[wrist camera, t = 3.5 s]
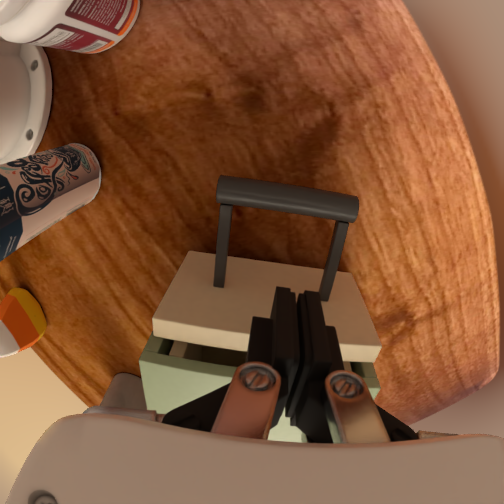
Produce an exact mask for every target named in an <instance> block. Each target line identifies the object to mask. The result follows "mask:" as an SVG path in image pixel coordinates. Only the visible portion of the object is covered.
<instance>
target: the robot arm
mask: <svg viewBox="0 0 504 504" xmlns="http://www.w3.org/2000/svg"><path fill="white" fill-rule="evenodd" d="M51 100H52V77H51V68H50V65H49V61H48V58H47V55H46V54H45V52H44V50H43V48H42V47H41V46H37V45H30V44H21V43H14V42H9V41H6V40H5V39H3V38H2V37H1V36H0V165H1V164H4V163H7V162H10V161H13V160H16V159H20V158H23V157H26V156H29V155H33V154H34V153H35V151H36V149H37V147H38V146H39V144H40V142H41V140H42V137H43V134H44V131H45V129H46V126H47V121H48V117H49V114H50V107H51ZM284 408H285V417H288V418H290V426H296V427H297V428H298V429H300V430H301V431H302V434H301V440H302V443H300V442H285V441H272V440H268V436H269V432H270V429H272V428H273V427H275V426H276V425H278V422H279V419H280V417H281V416H282V414H283V411H284ZM55 498H56V499H55ZM5 504H504V438H501V437H498V436H493V435H487V434H464V435H458V434H446V433H436V432H426V431H418V432H417V433H415V432H414V431H413V430H412V429H411V428H410V427H409V426H407V425H406V424H404V423H403V422H401V421H400V420H398V419H397V418H395V417H394V416H392V415H391V414H389V413H388V412H386V411H385V410H383V409H382V408H380V407H379V406H378V405H376V404H375V402H374V400H373V398H372V396H371V393H370V391H369V389H368V386H367V384H366V383H365V381H364V379H363V378H361V377H360V376H359V375H358V374H356V373H354V372H351V371H348V370H345V369H344V364H343V359H342V355H341V350H340V346H339V341H338V337H337V332H336V329H335V327H334V326H328V325H326V324H325V319H324V314H323V309H322V304H321V299H320V294H319V292H315V291H308V290H305V291H304V293H299V295H298V298H297V302H296V294H295V292H291V289H290V288H286V287H279V286H276V290H275V295H274V300H273V305H272V310H271V315H270V318H264V317H256V316H253V317H252V323H251V329H250V336H249V342H248V349H247V357H246V363H244V364H242V365H240V366H239V367H238V368H237V369H236V371H235V372H234V375H233V378H232V380H231V382H230V383H228V384H226V385H224V386H222V387H220V388H218V389H216V390H214V391H212V392H210V393H208V394H206V395H203V396H201V397H199V398H197V399H195V400H193V401H190V402H188V403H186V404H184V405H182V406H179V407H177V408H175V409H173V410H171V411H169V412H168V413H167V414H158V413H157V411H156V410H141V409H129V408H118V407H108V406H93V407H90V408H88V409H87V410H85V411H84V412H83V414H76V415H70V416H66V417H63V418H61V419H59V420H57V421H56V422H54V423H53V424H52V425H51V426H50V427H49V428H48V429H47V430H46V431H45V432H44V433H43V435H42V436H41V437H40V439H39V440H38V441H37V443H36V444H35V446H34V448H33V449H32V451H31V452H30V454H29V456H28V457H27V459H26V461H25V463H24V465H23V467H22V469H21V471H20V473H19V475H18V477H17V479H16V481H15V483H14V485H13V487H12V489H11V491H10V494H9V496H8V499H7V501H6V503H5Z"/></svg>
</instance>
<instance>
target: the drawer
mask: <svg viewBox="0 0 504 504" xmlns="http://www.w3.org/2000/svg"><path fill="white" fill-rule="evenodd" d="M216 202H217V203H221V205H220V213H219V223H218V234H217V245H216V254H210V253H203V252H196V251H189V252H188V253H187V255H186V257H185V259H184V261H183V262H182V264H181V266H180V268H179V269H178V271H177V273H176V275H175V277H174V279H173V280H172V282H171V284H170V286H169V288H168V290H167V291H166V293H165V295H164V297H163V299H162V301H161V302H160V304H159V306H158V308H157V310H156V312H155V314H154V316H153V318H152V321H153V334H154V336H157V337H162V338H167V339H172V340H174V343H173V346H172V348H171V351H170V353H169V356H173V357H179V358H184V359H189V360H195V361H201V362H207V363H213V364H219V365H226V366H233V367H239V366H240V365H242V364H244V363H246V357H247V349H248V342H249V336H250V329H251V323H252V317H253V316H256V317H264V318H270V315H271V310H272V305H273V300H274V295H275V290H276V286H279V287H286V288H290V289H291V292H295V294H296V302H297V298H298V295H299V293H304V291H305V290H308V291H315V292H319V294H320V299H321V304H322V309H323V314H324V319H325V324H326V325H328V326H334V327H335V329H336V332H337V337H338V341H339V346H340V350H341V355H342V359H343V364H344V369H345V370H348V371H351V372H352V369H351V365H350V361H352V362H375V360H376V358H377V356H378V354H379V351H380V349H381V347H382V345H381V342H380V340H379V337H378V335H377V332H376V330H375V327H374V325H373V322H372V320H371V318H370V315H369V313H368V310H367V308H366V306H365V303H364V301H363V299H362V296H361V294H360V292H359V289H358V287H357V285H356V283H355V280H354V278H353V276H352V274H351V273H347V272H339V271H337V269H338V265H339V261H340V258H341V254H342V250H343V246H344V242H345V238H346V234H347V230H348V226H349V223H348V222H350V223H354V222H355V220H356V218H357V215H358V211H359V199H358V197H357V196H353V195H348V194H342V193H337V192H331V191H326V190H320V189H314V188H308V187H302V186H296V185H289V184H283V183H276V182H269V181H262V180H255V179H248V178H240V177H232V176H224V175H220V177H219V179H218V184H217V190H216ZM233 205H238V206H245V207H253V208H260V209H267V210H274V211H281V212H287V213H294V214H301V215H307V216H313V217H320V218H326V219H332V220H336V223H335V227H334V232H333V236H332V240H331V244H330V249H329V253H328V257H327V261H326V265H325V269H317V268H310V267H303V266H295V265H288V264H281V263H274V262H266V261H259V260H252V259H245V258H238V257H231V256H228V248H229V238H230V229H231V220H232V211H233Z"/></svg>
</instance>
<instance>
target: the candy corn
mask: <svg viewBox="0 0 504 504" xmlns="http://www.w3.org/2000/svg"><path fill="white" fill-rule="evenodd" d="M46 327H47V323H46V320H45V316H44V314H43V311H42V309H41V307H40V305H39V303H38V302H37V301H36V299H35V298H34V297H33V296H32V295H31V294H30V293H29V292H28V291H27V290H25V289H21V288H18V287H17V288H12V289H11V290H10V291H9V292H8V294H7V295H6V296H5V298H4V299H3V301H2V302H1V304H0V358H2V357H6V356H10V355H13V354H15V353H18V352H20V351H22V350H24V349H27V348H29V347H31V346H32V345H33V344H34V343H36V342H37V341H38V340H39V339H40V338H41V337H42V336H43V334H44V332H45V330H46Z"/></svg>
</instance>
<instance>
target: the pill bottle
mask: <svg viewBox="0 0 504 504" xmlns="http://www.w3.org/2000/svg"><path fill="white" fill-rule="evenodd" d="M139 9H140V0H0V36H1V37H2V38H3V39H5V40H6V41H9V42H14V43H21V44H30V45H37V46H44V47H51V48H57V49H63V50H69V51H74V52H79V53H87V54H93V53H98V52H102V51H105V50H107V49H109V48H111V47H113V46H114V45H115V44H117V43H118V42H119V41H121V40H122V39H123V38H124V37H125V36H126V35H127V33H128V32H129V31H130V29H131V28H132V26H133V25H134V23H135V21H136V19H137V16H138V13H139Z"/></svg>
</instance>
